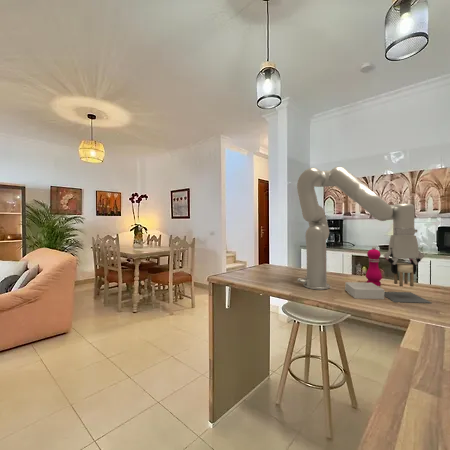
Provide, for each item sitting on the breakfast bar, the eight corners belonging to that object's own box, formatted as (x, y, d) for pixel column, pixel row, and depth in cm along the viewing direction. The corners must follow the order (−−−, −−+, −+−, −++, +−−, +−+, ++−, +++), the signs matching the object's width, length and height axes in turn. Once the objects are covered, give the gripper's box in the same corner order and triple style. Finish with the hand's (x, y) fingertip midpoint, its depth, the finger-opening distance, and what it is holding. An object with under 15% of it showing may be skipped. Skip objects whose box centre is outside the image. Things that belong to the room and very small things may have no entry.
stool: (391, 282, 114) (391, 262, 114) (407, 283, 113) (407, 262, 113) (399, 286, 108) (399, 265, 107) (416, 287, 107) (416, 265, 107)
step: (354, 298, 110) (354, 289, 110) (345, 290, 122) (345, 282, 122) (384, 299, 109) (384, 289, 109) (371, 291, 121) (371, 282, 121)
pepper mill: (384, 286, 128) (384, 247, 127) (368, 286, 129) (368, 247, 129) (378, 283, 135) (378, 245, 134) (363, 282, 136) (363, 245, 136)
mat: (394, 302, 105) (394, 301, 105) (378, 292, 119) (378, 291, 119) (431, 303, 103) (431, 302, 103) (410, 293, 117) (410, 292, 117)
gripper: (419, 231, 113) (419, 271, 113) (378, 232, 115) (378, 271, 115) (431, 232, 105) (431, 275, 106) (386, 233, 107) (386, 275, 108)
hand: (403, 273), depth 110 cm, fingers closed on stool, 6 cm apart
